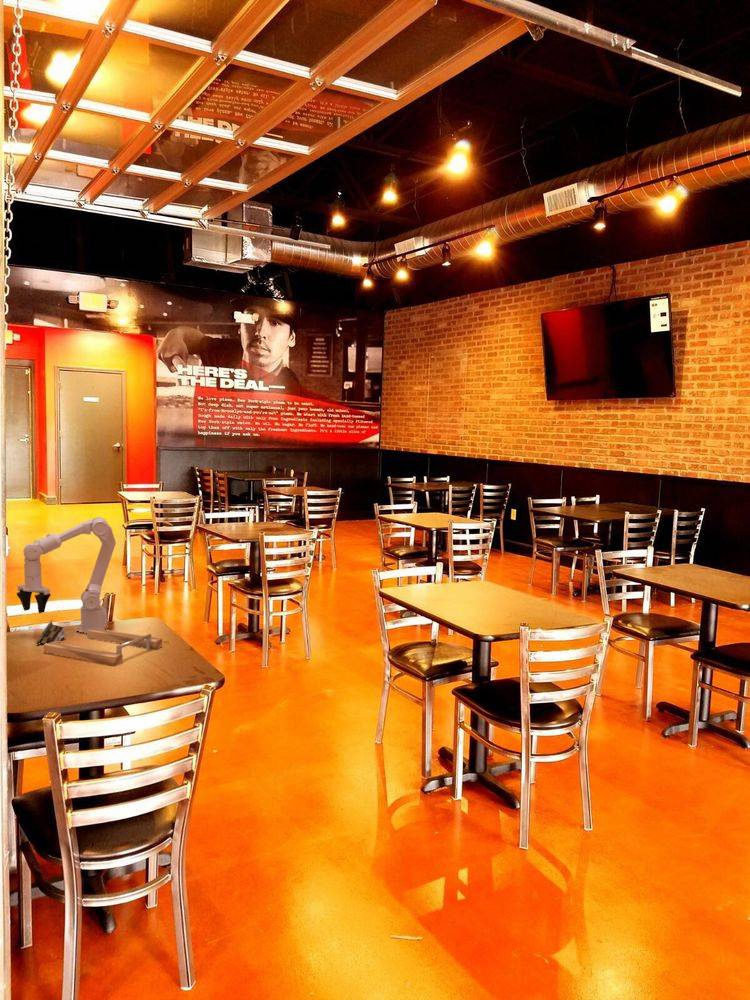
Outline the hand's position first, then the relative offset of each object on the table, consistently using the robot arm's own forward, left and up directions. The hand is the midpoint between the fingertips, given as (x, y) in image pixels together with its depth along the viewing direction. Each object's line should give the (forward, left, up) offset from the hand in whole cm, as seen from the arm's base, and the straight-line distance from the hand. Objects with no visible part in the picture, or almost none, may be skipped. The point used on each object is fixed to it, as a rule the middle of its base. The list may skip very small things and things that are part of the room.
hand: (34, 611), depth 278 cm
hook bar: (+1, +49, -10) cm, 50 cm away
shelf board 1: (+11, +35, -10) cm, 38 cm away
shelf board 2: (-9, +35, -10) cm, 37 cm away
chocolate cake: (+1, +11, -10) cm, 15 cm away
